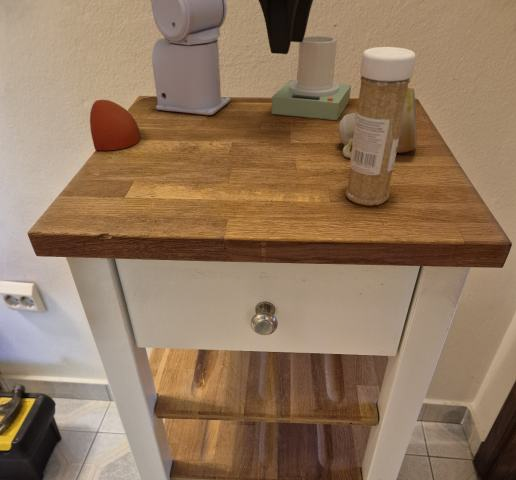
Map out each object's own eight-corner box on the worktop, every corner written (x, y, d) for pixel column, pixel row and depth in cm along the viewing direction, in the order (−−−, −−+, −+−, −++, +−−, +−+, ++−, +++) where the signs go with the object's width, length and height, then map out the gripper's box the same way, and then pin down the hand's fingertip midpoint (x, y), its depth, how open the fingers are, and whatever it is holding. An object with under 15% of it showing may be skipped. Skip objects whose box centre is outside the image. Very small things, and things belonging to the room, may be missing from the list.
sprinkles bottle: (397, 200, 49) (428, 51, 40) (365, 211, 47) (389, 58, 38) (367, 184, 52) (389, 42, 43) (335, 194, 50) (352, 48, 41)
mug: (333, 137, 64) (380, 64, 58) (391, 180, 64) (443, 110, 58) (322, 141, 57) (374, 59, 52) (386, 188, 57) (445, 111, 52)
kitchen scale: (271, 114, 71) (271, 92, 69) (289, 96, 78) (290, 75, 76) (336, 120, 68) (339, 98, 66) (349, 101, 75) (351, 80, 73)
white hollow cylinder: (292, 88, 70) (294, 41, 66) (301, 79, 74) (304, 34, 70) (328, 91, 69) (332, 43, 65) (335, 82, 73) (340, 36, 69)
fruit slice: (153, 121, 65) (130, 145, 67) (114, 80, 62) (92, 106, 64) (138, 144, 59) (114, 169, 61) (94, 100, 56) (71, 128, 58)
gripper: (312, -98, 46) (304, 61, 55) (340, -96, 56) (329, 38, 65) (245, -97, 48) (247, 57, 57) (283, -95, 58) (280, 35, 67)
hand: (287, 47), depth 61 cm, fingers open, 7 cm apart
